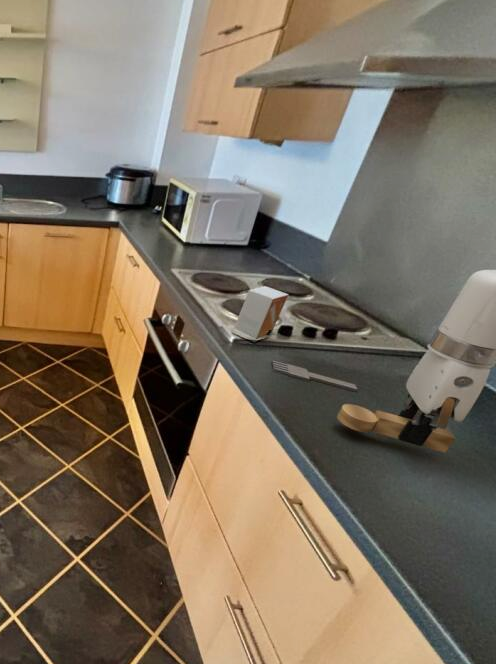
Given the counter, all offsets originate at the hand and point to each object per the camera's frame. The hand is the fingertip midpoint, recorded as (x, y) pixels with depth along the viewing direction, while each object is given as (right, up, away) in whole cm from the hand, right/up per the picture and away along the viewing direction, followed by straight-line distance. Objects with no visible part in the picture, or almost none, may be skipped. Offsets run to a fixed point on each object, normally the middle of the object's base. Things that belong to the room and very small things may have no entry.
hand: (406, 435), depth 74 cm
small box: (-3, +16, +39) cm, 42 cm away
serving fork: (0, +7, +21) cm, 23 cm away
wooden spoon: (-2, 0, +1) cm, 3 cm away
